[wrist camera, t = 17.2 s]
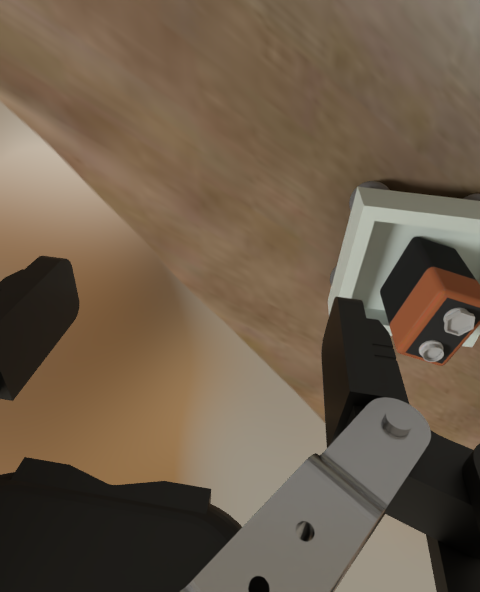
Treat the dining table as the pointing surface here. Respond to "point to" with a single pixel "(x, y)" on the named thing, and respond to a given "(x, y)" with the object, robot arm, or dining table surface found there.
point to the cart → (399, 240)
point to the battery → (431, 301)
